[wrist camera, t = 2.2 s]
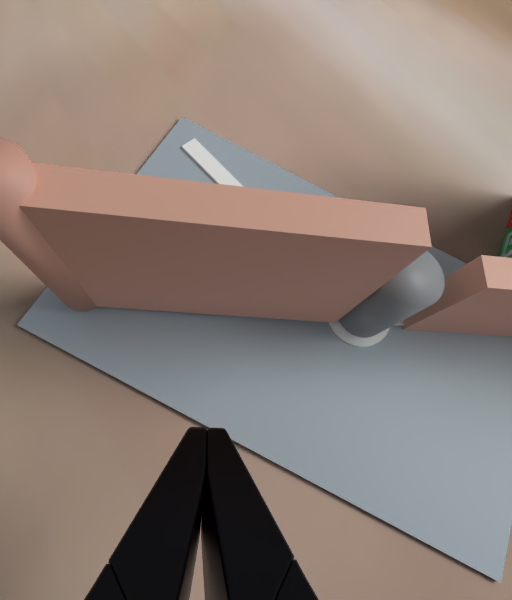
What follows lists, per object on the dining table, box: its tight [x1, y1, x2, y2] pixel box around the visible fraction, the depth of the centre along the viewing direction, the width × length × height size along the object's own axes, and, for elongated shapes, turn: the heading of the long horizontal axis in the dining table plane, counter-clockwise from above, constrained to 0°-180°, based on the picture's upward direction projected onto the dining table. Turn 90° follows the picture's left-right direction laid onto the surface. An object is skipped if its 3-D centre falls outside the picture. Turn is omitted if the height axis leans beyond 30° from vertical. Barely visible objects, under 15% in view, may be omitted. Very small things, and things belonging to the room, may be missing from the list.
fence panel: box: [0, 138, 445, 338], centre depth 15 cm, size 16×3×9 cm, turn 89°
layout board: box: [17, 117, 512, 583], centre depth 20 cm, size 15×25×1 cm, turn 64°
